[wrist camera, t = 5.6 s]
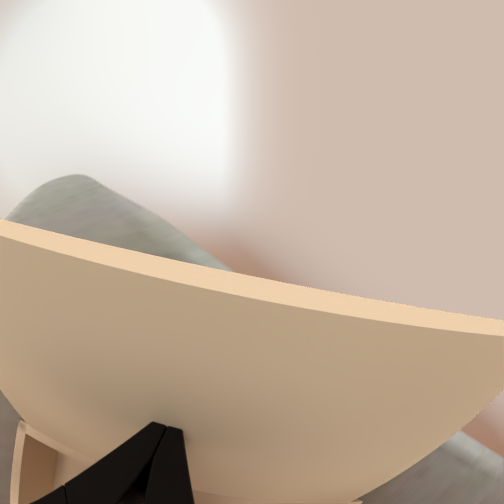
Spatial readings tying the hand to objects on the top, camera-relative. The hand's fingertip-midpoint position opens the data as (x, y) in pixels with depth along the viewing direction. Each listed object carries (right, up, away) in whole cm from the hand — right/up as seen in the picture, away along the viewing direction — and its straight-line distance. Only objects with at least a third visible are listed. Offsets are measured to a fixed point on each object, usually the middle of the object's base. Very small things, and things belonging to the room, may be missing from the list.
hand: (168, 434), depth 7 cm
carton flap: (0, 0, 0) cm, 1 cm away
